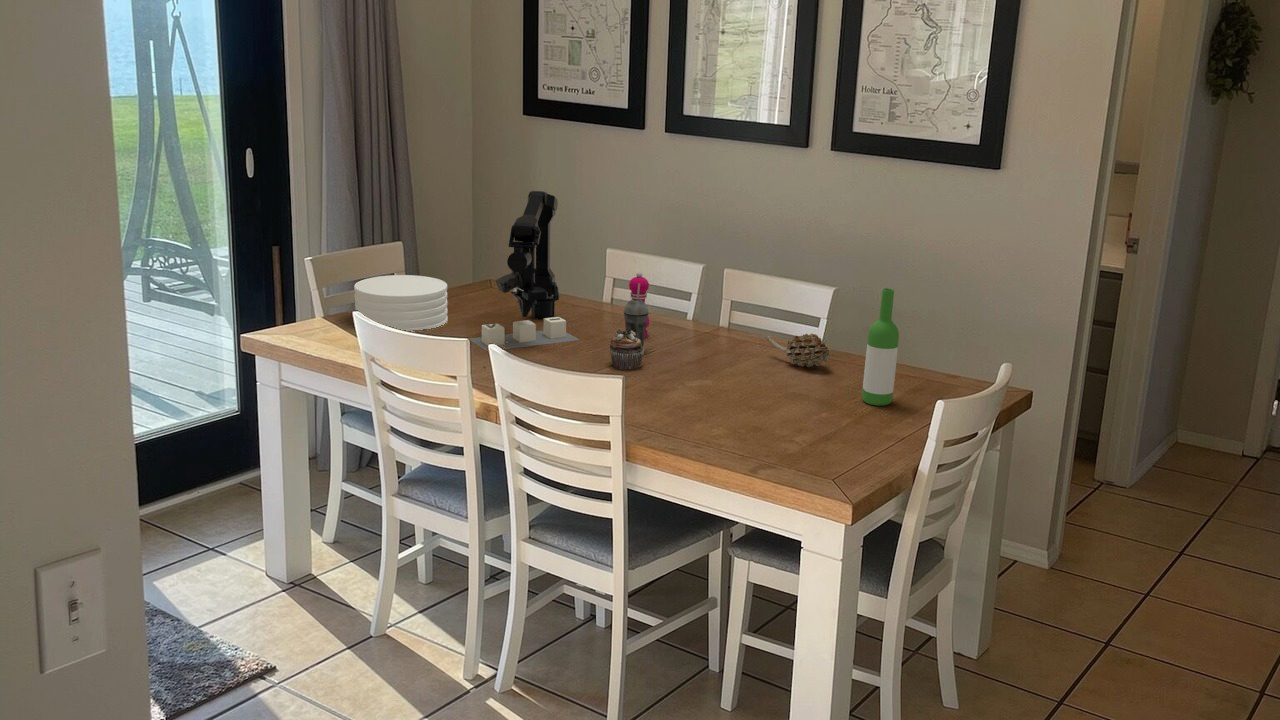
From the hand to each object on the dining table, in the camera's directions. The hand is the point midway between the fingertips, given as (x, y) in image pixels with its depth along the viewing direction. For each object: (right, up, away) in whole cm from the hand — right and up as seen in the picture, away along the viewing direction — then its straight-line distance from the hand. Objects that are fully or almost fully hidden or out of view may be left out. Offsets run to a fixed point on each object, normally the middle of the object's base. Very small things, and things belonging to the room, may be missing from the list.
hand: (524, 316), depth 339 cm
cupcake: (+30, -14, -17) cm, 38 cm away
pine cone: (+78, -14, -9) cm, 80 cm away
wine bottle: (+95, -24, -39) cm, 106 cm away
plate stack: (-40, -1, +19) cm, 44 cm away
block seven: (-9, -8, -3) cm, 12 cm away
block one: (+8, -5, +7) cm, 12 cm away
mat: (0, -7, +2) cm, 7 cm away
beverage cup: (+32, -10, -3) cm, 34 cm away
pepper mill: (+33, -6, +12) cm, 36 cm away
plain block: (0, -7, +2) cm, 7 cm away
